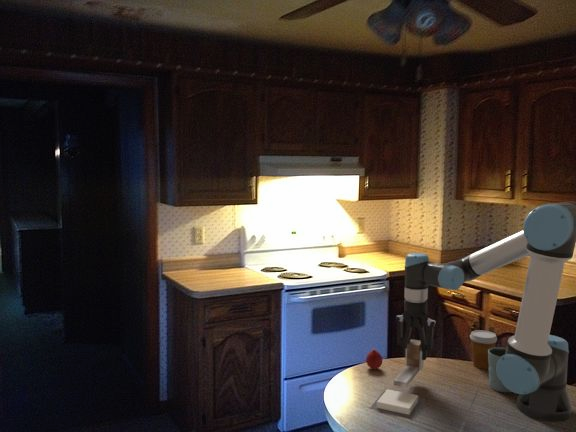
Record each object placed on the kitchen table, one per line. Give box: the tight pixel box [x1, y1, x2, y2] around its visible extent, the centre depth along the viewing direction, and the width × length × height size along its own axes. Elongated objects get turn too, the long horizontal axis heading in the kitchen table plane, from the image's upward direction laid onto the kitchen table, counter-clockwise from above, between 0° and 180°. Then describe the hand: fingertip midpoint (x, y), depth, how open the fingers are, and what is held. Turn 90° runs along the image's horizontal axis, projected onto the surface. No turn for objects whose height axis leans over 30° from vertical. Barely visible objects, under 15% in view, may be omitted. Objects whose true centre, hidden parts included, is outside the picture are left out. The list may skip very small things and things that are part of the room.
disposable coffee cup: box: [469, 329, 498, 370], centre depth 203 cm, size 10×10×12 cm
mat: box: [369, 390, 428, 419], centre depth 172 cm, size 14×14×1 cm
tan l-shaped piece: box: [393, 338, 422, 388], centre depth 181 cm, size 4×19×9 cm, turn 152°
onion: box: [365, 348, 383, 371], centre depth 199 cm, size 6×6×8 cm
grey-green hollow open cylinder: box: [488, 346, 512, 393], centre depth 185 cm, size 10×10×12 cm
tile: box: [377, 388, 419, 415], centre depth 171 cm, size 10×2×10 cm
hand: (414, 367), depth 187 cm, fingers closed on tan l-shaped piece, 4 cm apart
